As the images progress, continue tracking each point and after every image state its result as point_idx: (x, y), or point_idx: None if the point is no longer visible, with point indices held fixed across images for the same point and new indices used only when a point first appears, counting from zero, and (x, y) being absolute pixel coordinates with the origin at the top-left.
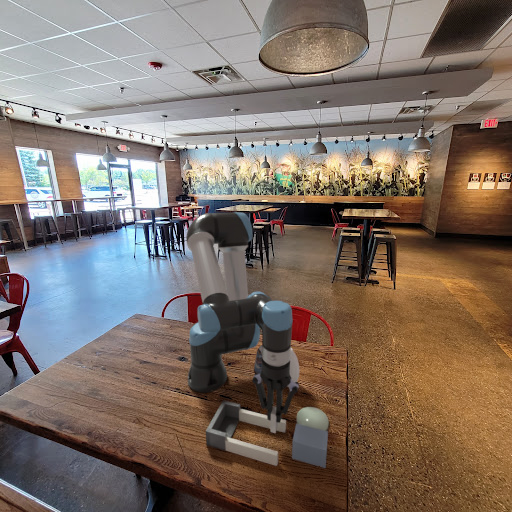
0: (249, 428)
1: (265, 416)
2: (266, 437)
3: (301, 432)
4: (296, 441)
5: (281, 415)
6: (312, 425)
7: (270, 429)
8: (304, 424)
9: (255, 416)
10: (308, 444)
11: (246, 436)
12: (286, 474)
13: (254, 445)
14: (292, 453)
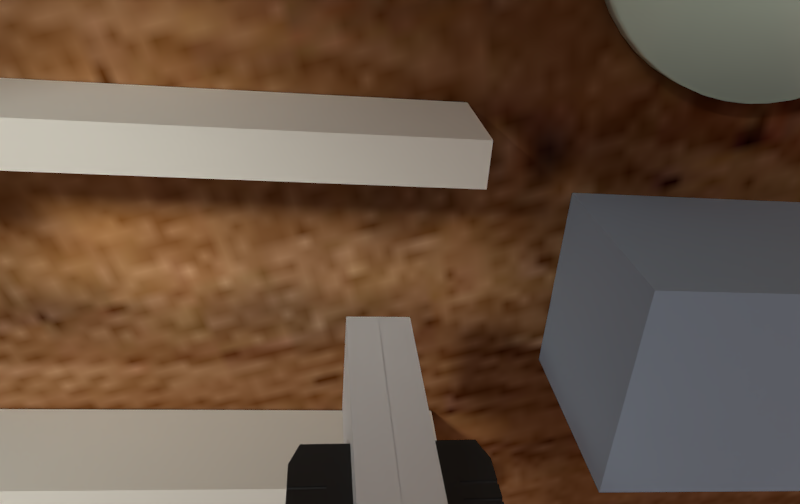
0: (68, 187)
1: (208, 152)
2: (283, 240)
3: (704, 384)
4: (639, 484)
5: (500, 494)
6: (785, 3)
7: (343, 433)
8: (691, 11)
9: (72, 169)
10: (756, 482)
11: (84, 279)
12: (502, 465)
13: (217, 492)
14: (556, 392)
